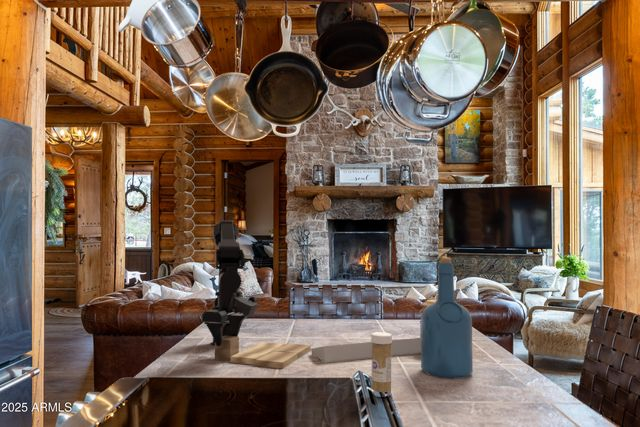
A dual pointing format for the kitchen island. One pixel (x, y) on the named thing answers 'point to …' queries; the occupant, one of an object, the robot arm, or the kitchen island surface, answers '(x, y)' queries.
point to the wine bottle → (446, 331)
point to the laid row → (283, 355)
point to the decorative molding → (364, 350)
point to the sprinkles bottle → (381, 361)
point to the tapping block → (227, 348)
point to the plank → (254, 353)
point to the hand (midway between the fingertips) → (227, 342)
